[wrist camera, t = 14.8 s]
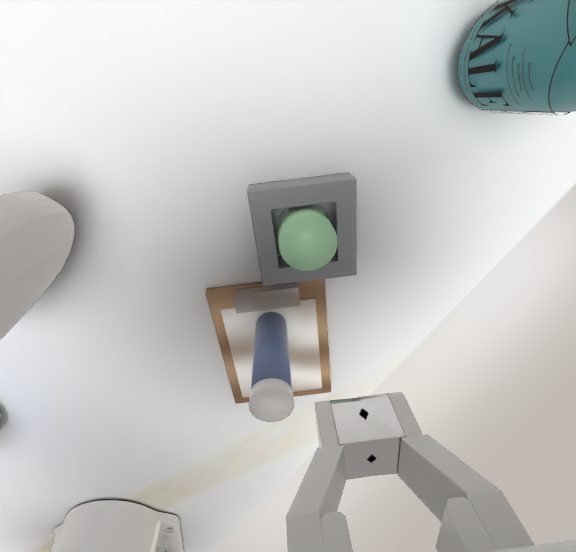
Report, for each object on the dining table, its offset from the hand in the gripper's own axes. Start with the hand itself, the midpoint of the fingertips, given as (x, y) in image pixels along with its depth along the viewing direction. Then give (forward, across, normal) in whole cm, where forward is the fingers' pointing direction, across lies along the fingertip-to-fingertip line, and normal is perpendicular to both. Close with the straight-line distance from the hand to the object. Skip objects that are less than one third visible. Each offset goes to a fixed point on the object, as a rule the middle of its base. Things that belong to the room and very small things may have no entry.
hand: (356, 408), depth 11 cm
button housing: (+19, 0, 0) cm, 19 cm away
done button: (+18, 0, 0) cm, 18 cm away
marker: (+18, -4, -9) cm, 20 cm away
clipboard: (+19, -4, -12) cm, 23 cm away
